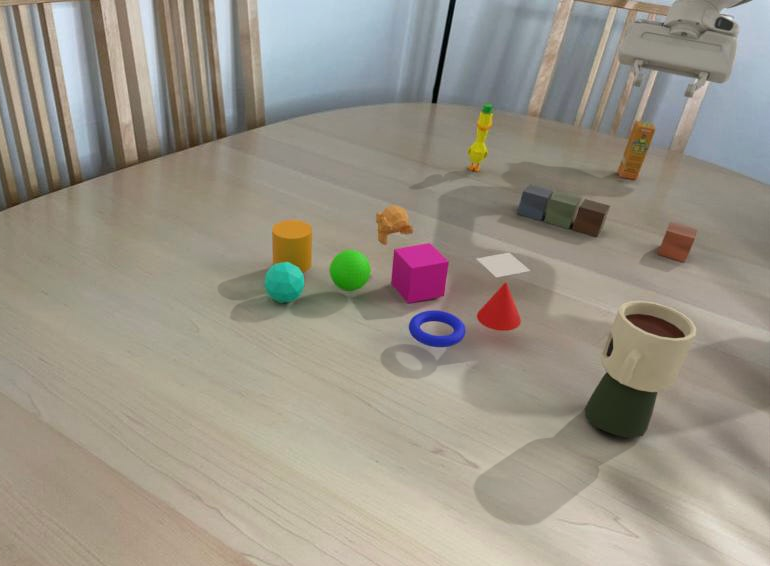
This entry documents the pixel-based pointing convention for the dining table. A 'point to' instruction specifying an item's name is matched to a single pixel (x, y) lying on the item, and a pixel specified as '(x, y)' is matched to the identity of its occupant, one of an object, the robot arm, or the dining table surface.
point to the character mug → (638, 366)
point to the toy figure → (481, 138)
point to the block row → (594, 218)
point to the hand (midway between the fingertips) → (662, 90)
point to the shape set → (409, 275)
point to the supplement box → (636, 149)
